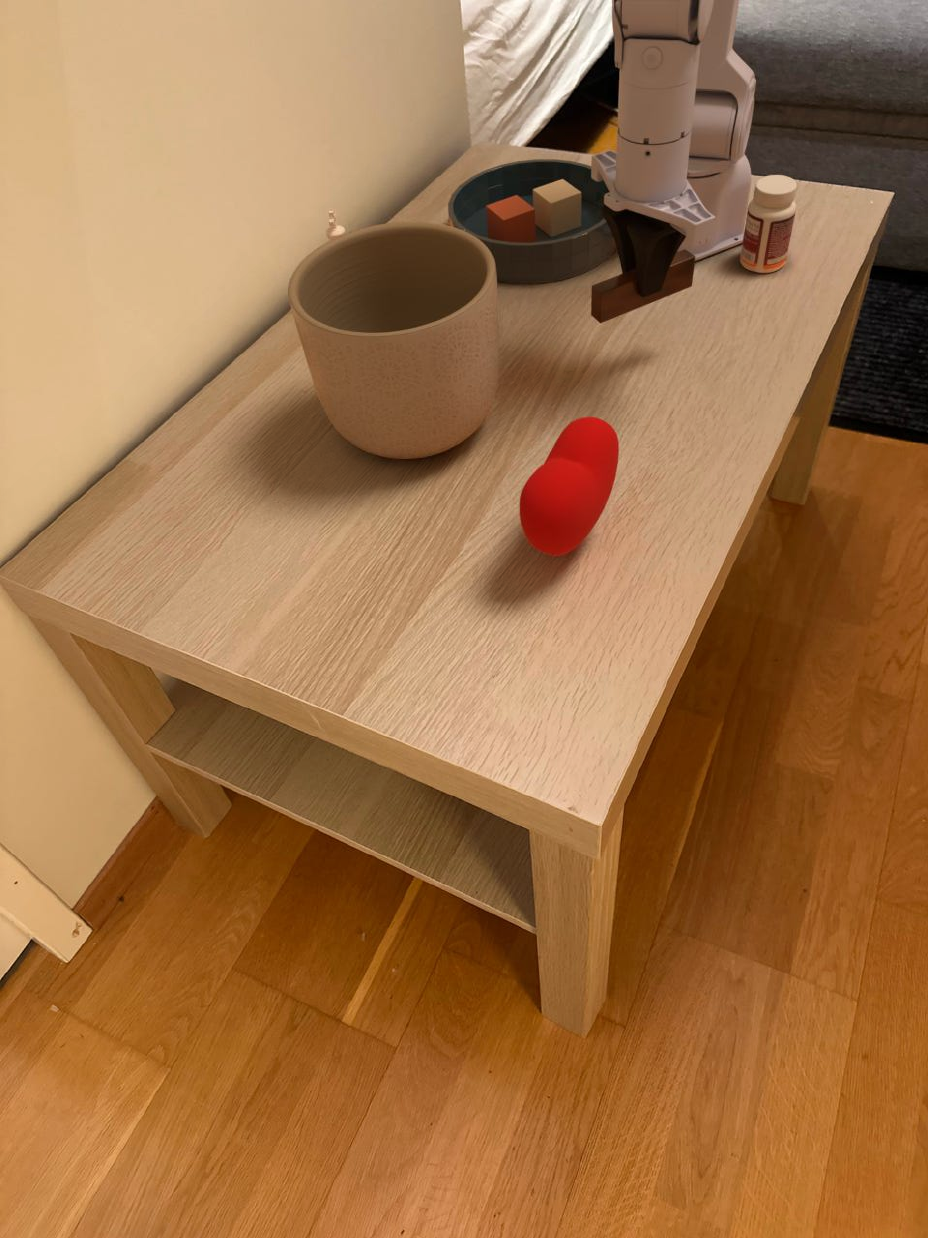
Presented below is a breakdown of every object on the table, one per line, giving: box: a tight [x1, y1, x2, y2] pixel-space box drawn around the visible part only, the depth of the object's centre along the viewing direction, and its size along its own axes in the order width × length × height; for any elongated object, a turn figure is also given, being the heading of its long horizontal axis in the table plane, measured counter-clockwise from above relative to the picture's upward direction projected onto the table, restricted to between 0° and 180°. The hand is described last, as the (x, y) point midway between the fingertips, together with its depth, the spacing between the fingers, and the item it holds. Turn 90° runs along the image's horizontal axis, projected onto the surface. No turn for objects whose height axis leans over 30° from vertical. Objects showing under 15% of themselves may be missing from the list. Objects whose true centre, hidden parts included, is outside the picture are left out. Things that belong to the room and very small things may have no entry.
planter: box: [287, 221, 500, 460], centre depth 78 cm, size 17×17×15 cm
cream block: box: [533, 179, 581, 237], centre depth 102 cm, size 4×4×4 cm
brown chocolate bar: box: [590, 249, 696, 324], centre depth 80 cm, size 10×2×3 cm, turn 118°
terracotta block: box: [486, 195, 536, 243], centre depth 100 cm, size 4×4×4 cm
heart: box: [519, 416, 620, 557], centre depth 69 cm, size 12×5×10 cm, turn 151°
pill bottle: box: [739, 174, 798, 274], centre depth 93 cm, size 5×5×8 cm
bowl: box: [447, 158, 617, 285], centre depth 101 cm, size 19×19×4 cm
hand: (642, 286), depth 80 cm, fingers closed on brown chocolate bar, 1 cm apart
